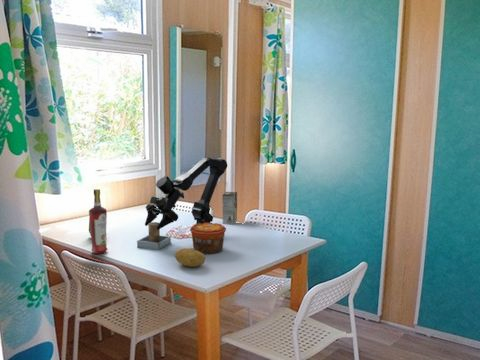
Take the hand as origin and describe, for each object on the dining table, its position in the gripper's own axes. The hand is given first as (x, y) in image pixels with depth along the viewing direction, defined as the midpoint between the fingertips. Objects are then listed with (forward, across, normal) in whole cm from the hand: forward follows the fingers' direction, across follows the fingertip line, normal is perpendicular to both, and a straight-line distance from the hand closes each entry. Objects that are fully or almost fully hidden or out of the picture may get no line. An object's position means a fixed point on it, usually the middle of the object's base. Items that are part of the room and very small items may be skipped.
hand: (151, 227), depth 222 cm
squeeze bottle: (+14, -30, -1) cm, 33 cm away
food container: (-4, +22, +17) cm, 28 cm away
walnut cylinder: (+5, 0, +7) cm, 8 cm away
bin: (+5, 0, +7) cm, 9 cm away
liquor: (+22, -7, -10) cm, 25 cm away
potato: (+10, +33, +3) cm, 35 cm away
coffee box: (-33, -7, +46) cm, 57 cm away
